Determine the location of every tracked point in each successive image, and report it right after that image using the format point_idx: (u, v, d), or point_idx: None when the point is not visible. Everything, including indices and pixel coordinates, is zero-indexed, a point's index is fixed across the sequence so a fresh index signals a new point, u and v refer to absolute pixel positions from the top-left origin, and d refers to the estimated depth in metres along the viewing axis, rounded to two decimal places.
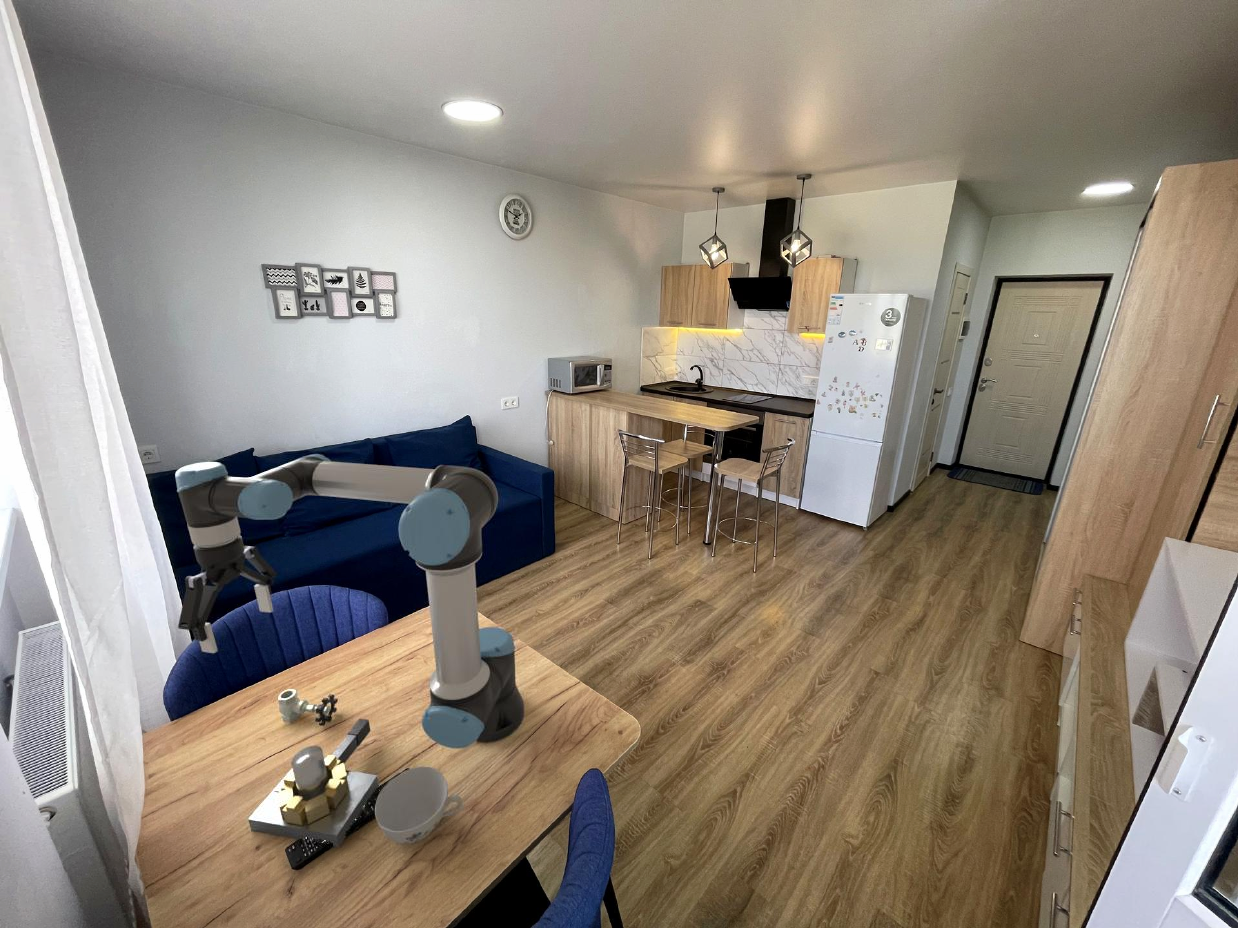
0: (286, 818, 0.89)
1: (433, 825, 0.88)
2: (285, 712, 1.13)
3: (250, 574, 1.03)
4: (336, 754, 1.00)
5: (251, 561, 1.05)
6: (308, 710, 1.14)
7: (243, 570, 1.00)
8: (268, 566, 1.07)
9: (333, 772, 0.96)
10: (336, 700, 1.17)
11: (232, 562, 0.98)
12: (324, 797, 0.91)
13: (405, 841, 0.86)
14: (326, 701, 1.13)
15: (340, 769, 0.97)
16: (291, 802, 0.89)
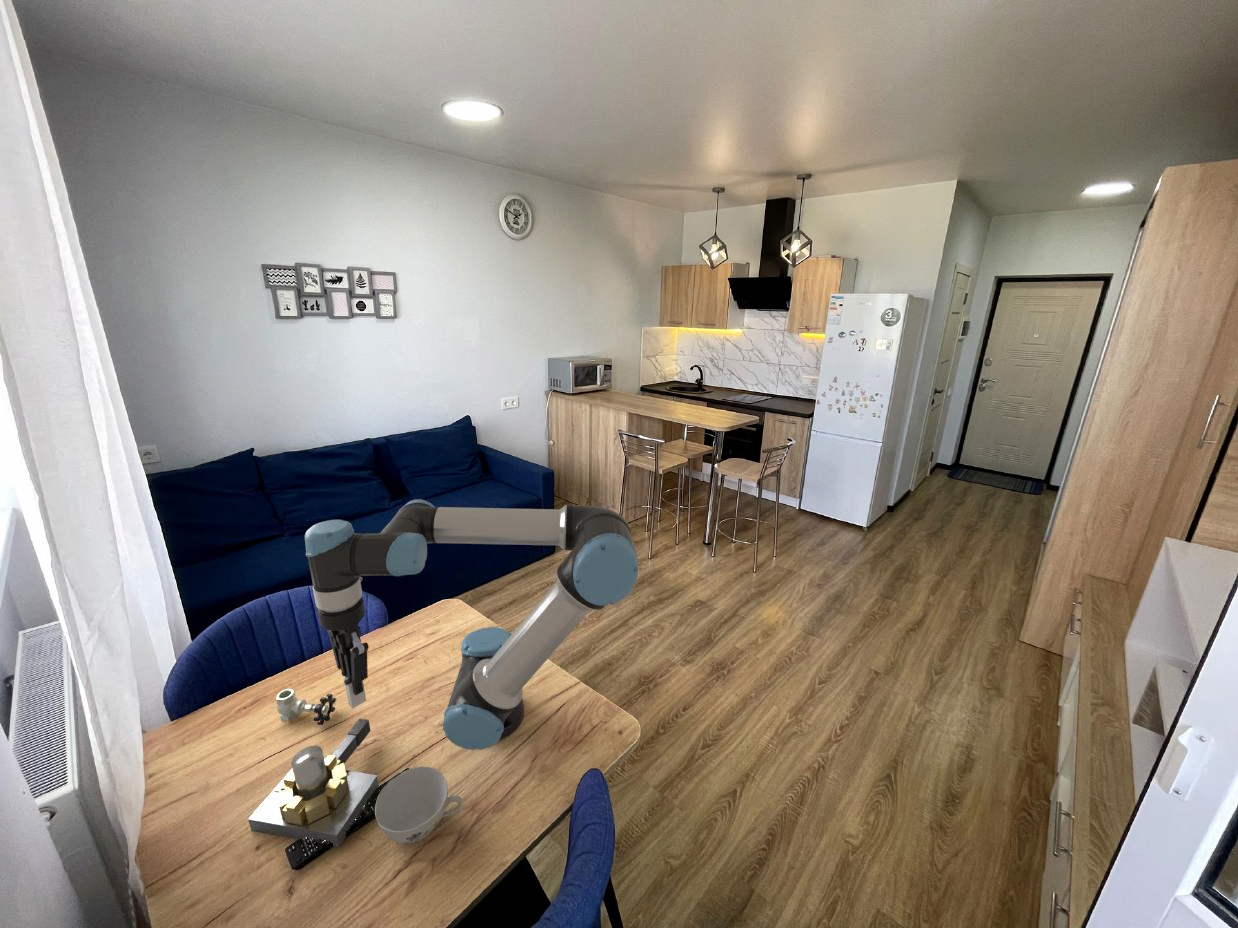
0: (286, 818, 0.89)
1: (433, 825, 0.88)
2: (283, 712, 1.13)
3: (344, 656, 0.92)
4: (336, 754, 1.00)
5: None
6: (306, 710, 1.14)
7: (339, 645, 0.91)
8: (353, 672, 0.91)
9: (333, 772, 0.96)
10: (334, 699, 1.17)
11: None
12: (324, 797, 0.91)
13: (405, 841, 0.86)
14: (324, 700, 1.13)
15: (340, 769, 0.97)
16: (291, 802, 0.89)
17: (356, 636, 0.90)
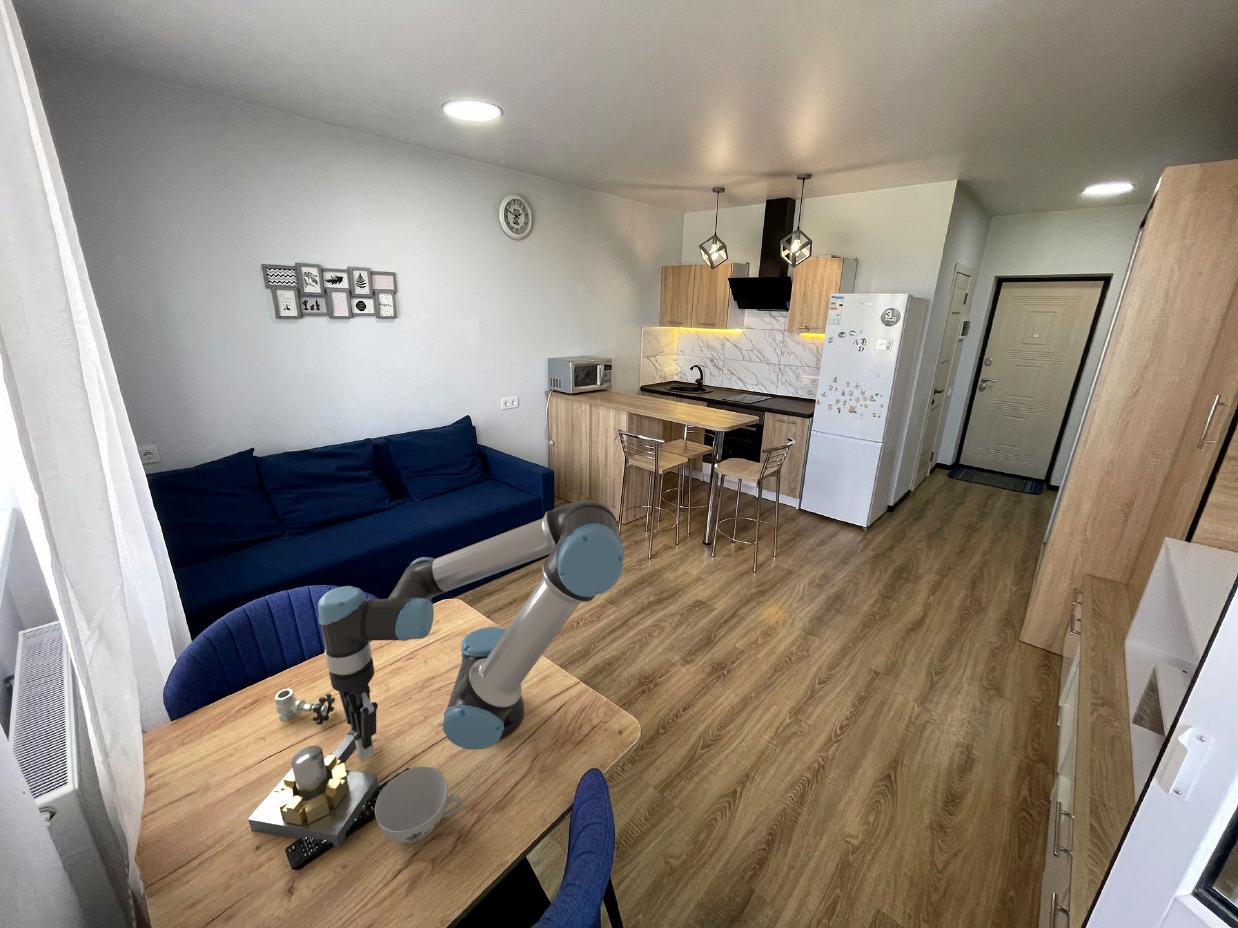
0: (286, 818, 0.89)
1: (433, 825, 0.88)
2: (282, 712, 1.13)
3: (354, 713, 0.96)
4: (336, 754, 1.00)
5: None
6: (305, 709, 1.14)
7: (350, 704, 0.95)
8: (363, 729, 0.95)
9: (333, 772, 0.96)
10: (333, 699, 1.17)
11: None
12: (324, 797, 0.91)
13: (405, 841, 0.86)
14: (323, 700, 1.13)
15: (340, 769, 0.97)
16: (291, 802, 0.89)
17: (366, 696, 0.94)
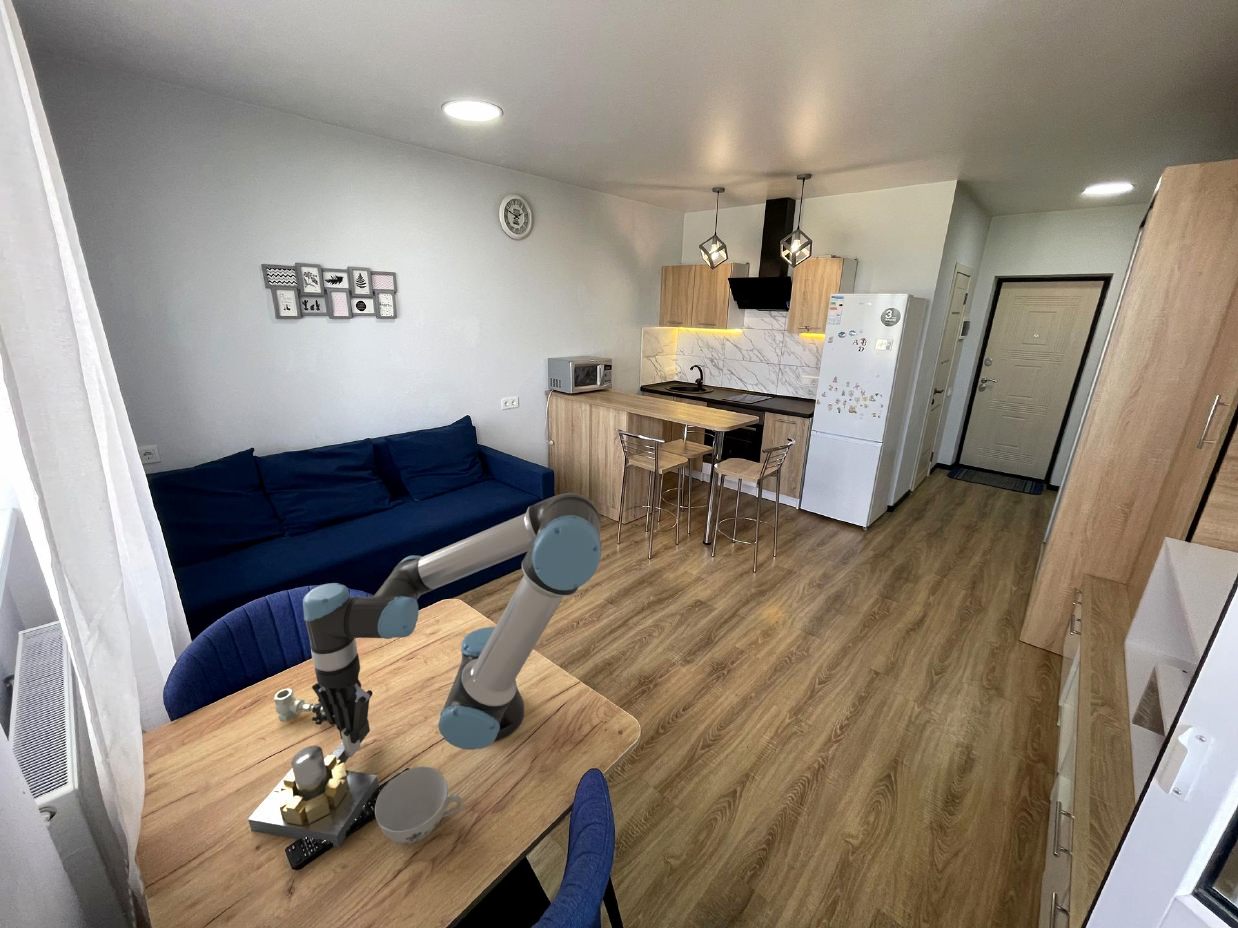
0: (286, 818, 0.89)
1: (433, 825, 0.88)
2: (281, 712, 1.13)
3: (343, 709, 0.97)
4: (336, 754, 1.00)
5: None
6: (304, 709, 1.14)
7: (339, 700, 0.96)
8: (357, 721, 0.97)
9: (333, 772, 0.96)
10: None
11: None
12: (324, 797, 0.91)
13: (405, 841, 0.86)
14: None
15: (340, 768, 0.97)
16: (291, 802, 0.89)
17: (358, 687, 0.96)
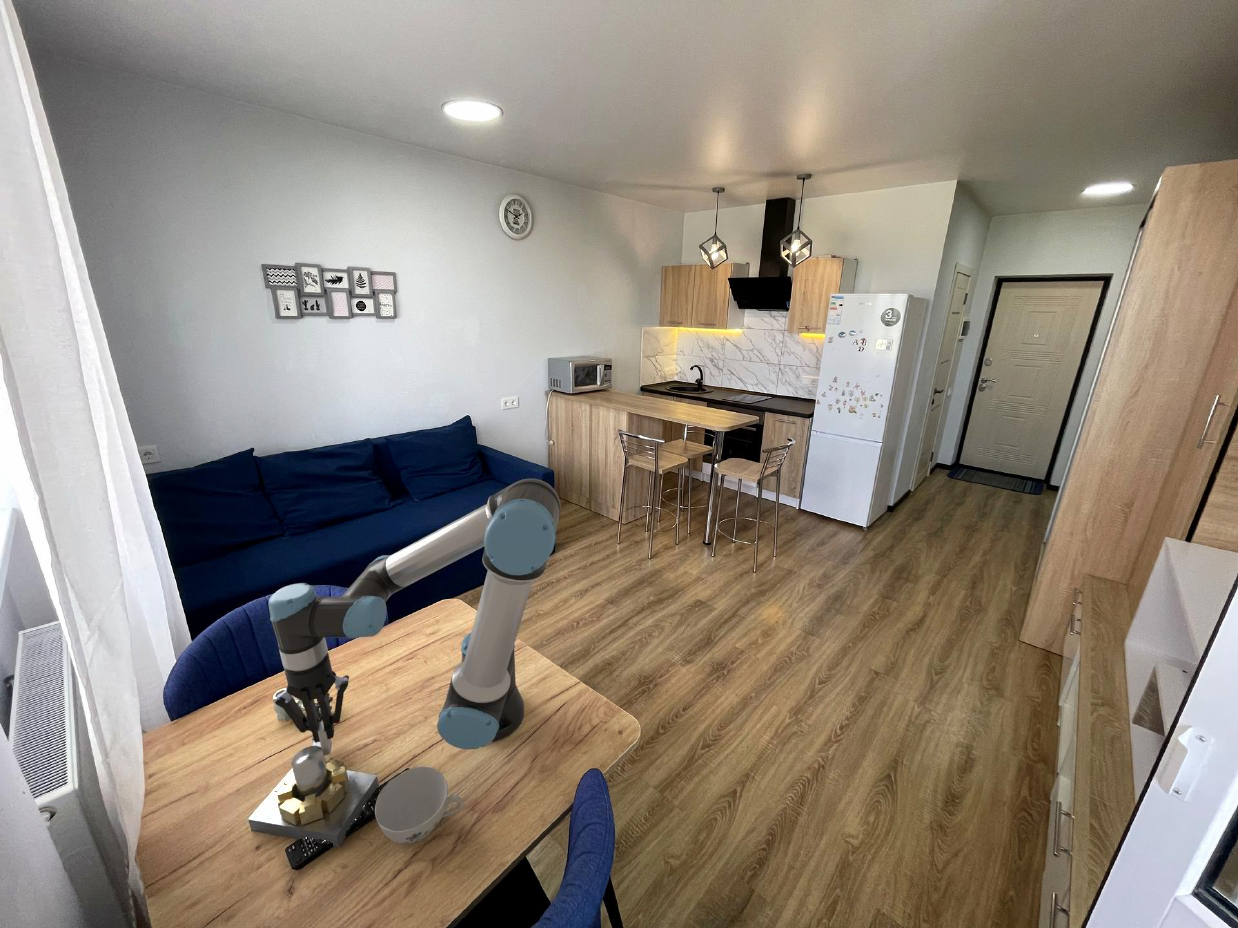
0: (303, 819, 0.89)
1: (433, 825, 0.88)
2: (280, 712, 1.13)
3: (320, 705, 0.98)
4: None
5: None
6: (303, 709, 1.14)
7: (318, 697, 0.97)
8: (339, 709, 1.00)
9: (327, 767, 0.97)
10: (331, 699, 1.17)
11: None
12: (336, 784, 0.93)
13: (405, 841, 0.86)
14: None
15: (332, 762, 0.98)
16: (306, 801, 0.89)
17: (335, 676, 0.99)
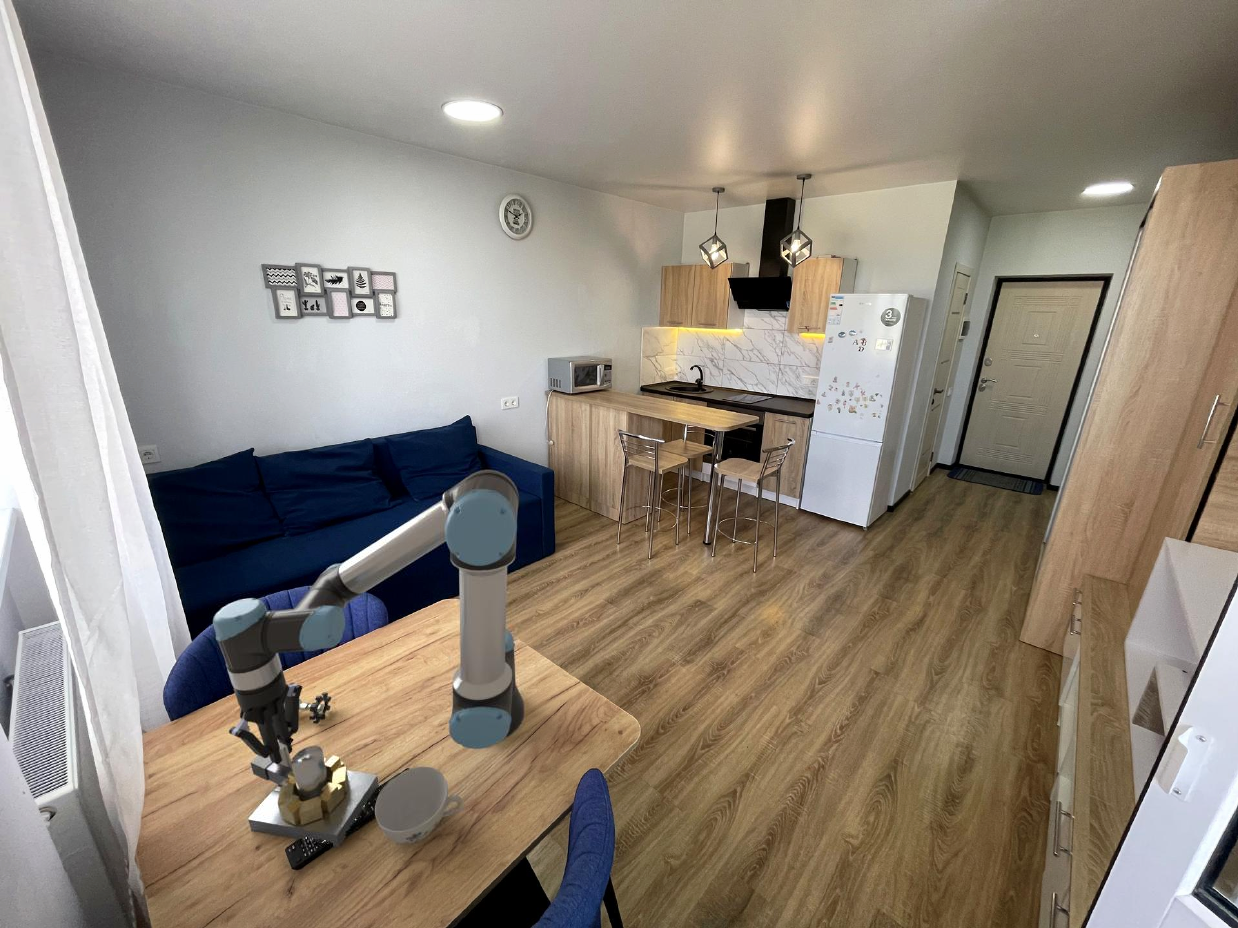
0: (330, 807, 0.91)
1: (433, 825, 0.88)
2: None
3: (280, 720, 0.95)
4: (288, 772, 0.95)
5: (287, 702, 0.97)
6: (302, 708, 1.14)
7: (279, 710, 0.94)
8: (297, 716, 0.98)
9: None
10: (330, 698, 1.17)
11: None
12: (339, 769, 0.96)
13: (405, 841, 0.86)
14: (320, 699, 1.14)
15: None
16: (328, 790, 0.91)
17: None
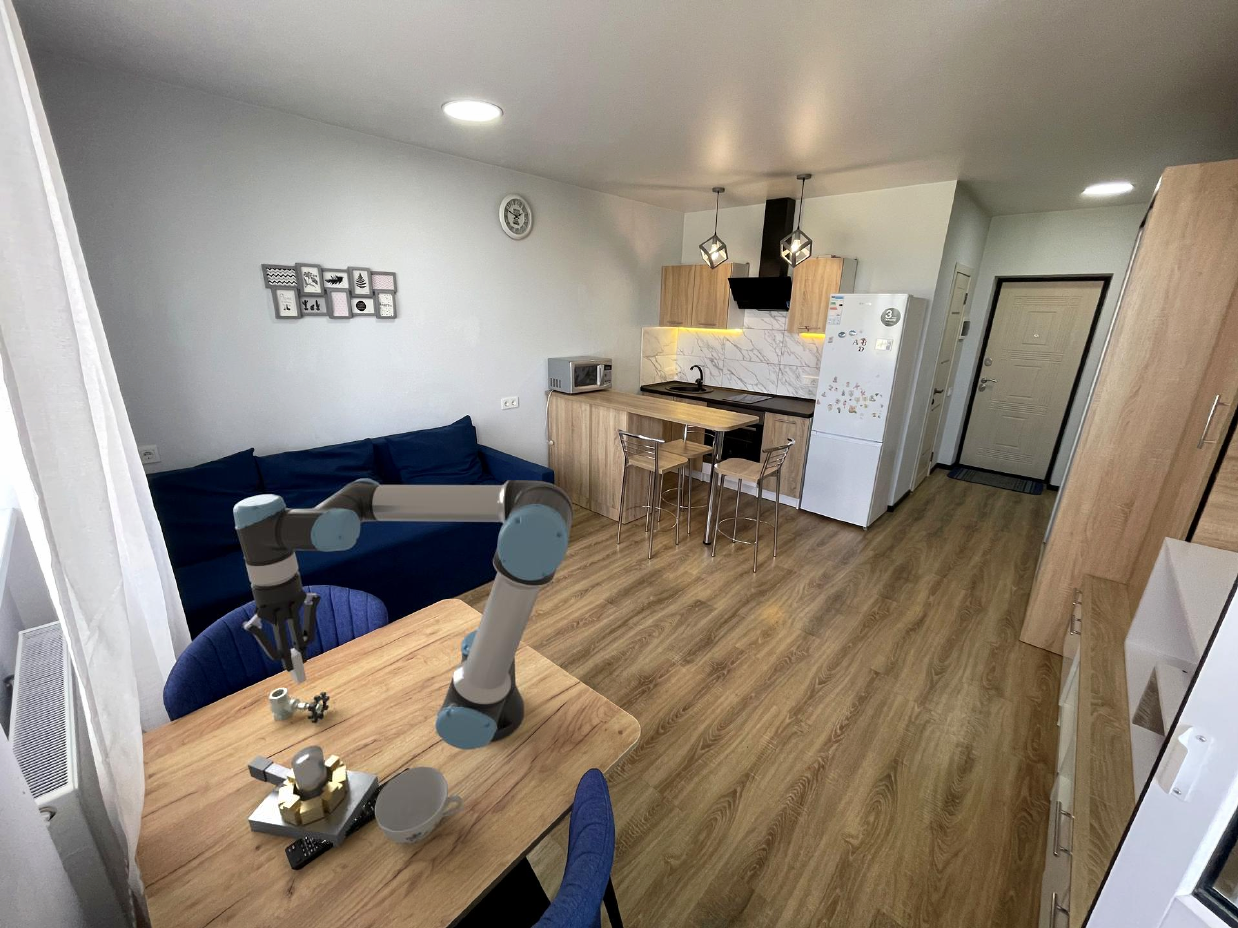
0: (331, 806, 0.91)
1: (433, 825, 0.88)
2: (276, 711, 1.13)
3: (295, 625, 0.94)
4: (287, 773, 0.95)
5: (305, 611, 0.97)
6: (300, 708, 1.14)
7: (293, 615, 0.93)
8: (313, 626, 0.97)
9: None
10: (328, 698, 1.17)
11: None
12: (338, 769, 0.97)
13: (405, 841, 0.86)
14: (318, 698, 1.14)
15: None
16: (328, 789, 0.91)
17: None
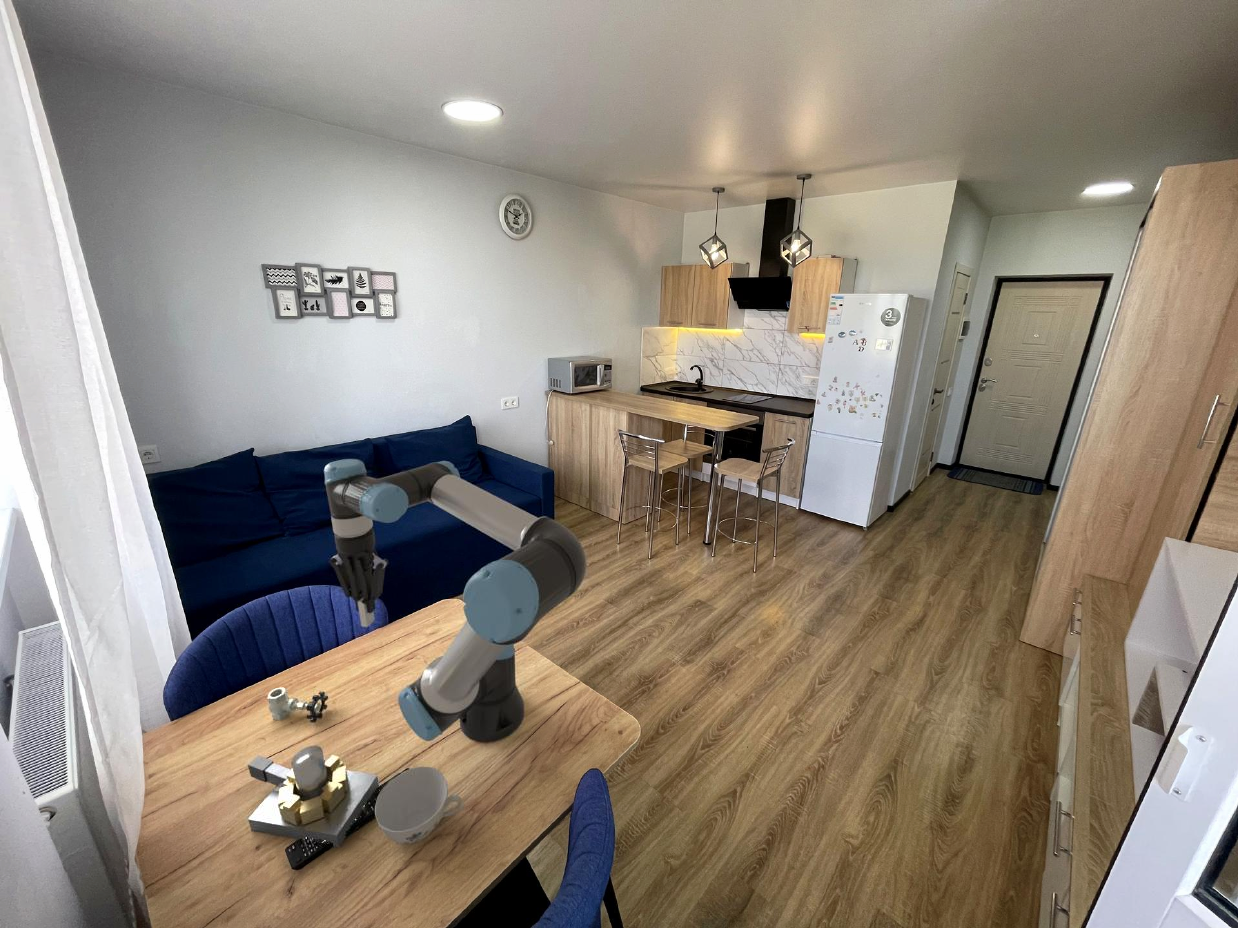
0: (331, 806, 0.91)
1: (433, 825, 0.88)
2: (275, 711, 1.13)
3: (361, 578, 1.07)
4: (287, 773, 0.95)
5: None
6: (298, 708, 1.14)
7: (358, 568, 1.05)
8: (375, 587, 1.07)
9: None
10: (326, 697, 1.17)
11: None
12: (338, 769, 0.97)
13: (405, 841, 0.86)
14: (317, 698, 1.14)
15: None
16: (328, 789, 0.91)
17: (375, 555, 1.06)
